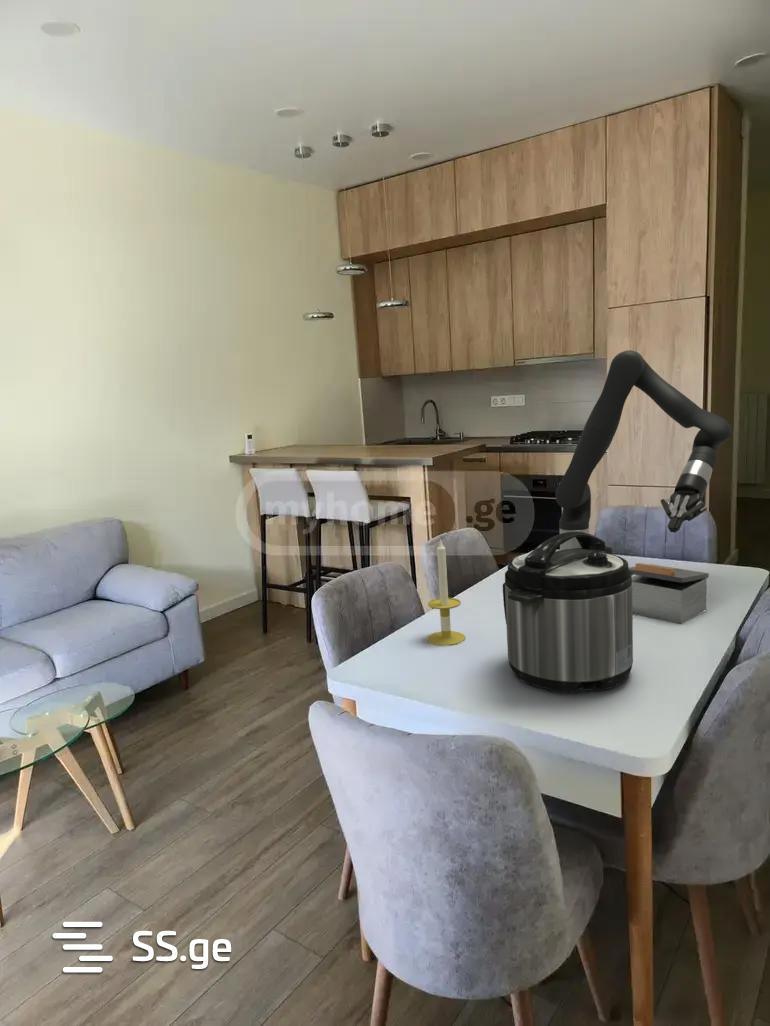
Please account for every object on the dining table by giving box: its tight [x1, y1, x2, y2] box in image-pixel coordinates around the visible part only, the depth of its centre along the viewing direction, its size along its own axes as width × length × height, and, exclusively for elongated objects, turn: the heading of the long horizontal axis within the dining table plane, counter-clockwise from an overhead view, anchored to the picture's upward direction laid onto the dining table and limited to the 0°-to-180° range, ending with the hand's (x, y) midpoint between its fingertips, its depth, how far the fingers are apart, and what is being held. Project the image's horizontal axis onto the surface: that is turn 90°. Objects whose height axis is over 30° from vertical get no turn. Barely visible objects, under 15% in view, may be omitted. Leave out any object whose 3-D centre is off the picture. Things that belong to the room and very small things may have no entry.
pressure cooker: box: [502, 532, 634, 693], centre depth 148 cm, size 30×28×32 cm
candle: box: [426, 538, 466, 646], centre depth 174 cm, size 10×10×27 cm
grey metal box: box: [632, 575, 708, 625], centre depth 184 cm, size 16×14×9 cm
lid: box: [628, 562, 710, 583], centre depth 183 cm, size 17×15×3 cm
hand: (672, 530), depth 183 cm, fingers closed
